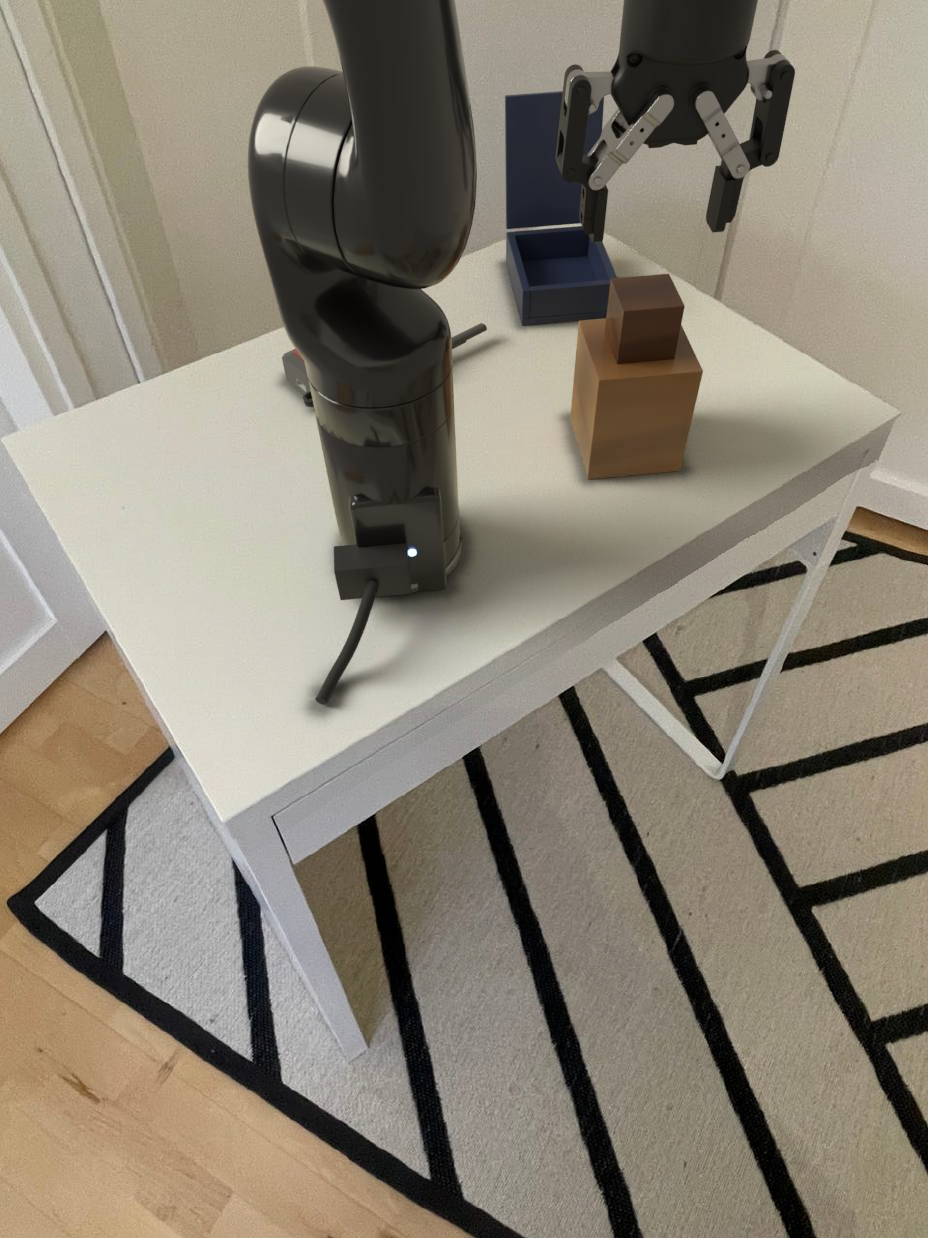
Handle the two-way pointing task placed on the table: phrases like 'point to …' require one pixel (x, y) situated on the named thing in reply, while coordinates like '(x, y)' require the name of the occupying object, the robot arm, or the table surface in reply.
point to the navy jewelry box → (558, 275)
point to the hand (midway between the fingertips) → (654, 231)
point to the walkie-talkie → (299, 376)
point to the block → (643, 318)
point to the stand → (631, 406)
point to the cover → (540, 161)
